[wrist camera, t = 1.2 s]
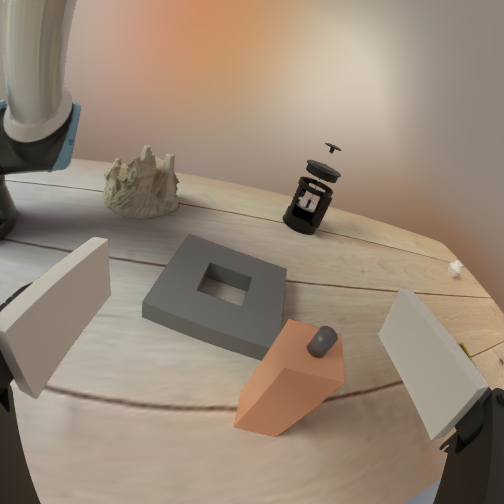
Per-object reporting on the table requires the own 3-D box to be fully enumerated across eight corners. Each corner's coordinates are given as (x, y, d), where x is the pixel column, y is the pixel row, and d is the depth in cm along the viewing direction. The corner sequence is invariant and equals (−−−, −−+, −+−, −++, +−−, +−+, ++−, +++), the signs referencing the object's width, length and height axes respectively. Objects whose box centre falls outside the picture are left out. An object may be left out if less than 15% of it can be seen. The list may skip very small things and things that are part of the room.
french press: (276, 211, 74) (307, 133, 62) (303, 216, 78) (335, 143, 66) (294, 236, 65) (334, 149, 53) (324, 240, 70) (363, 160, 57)
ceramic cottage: (187, 211, 59) (198, 145, 51) (119, 227, 48) (122, 151, 40) (154, 185, 67) (161, 130, 59) (96, 196, 55) (98, 134, 47)
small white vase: (448, 270, 89) (458, 257, 85) (457, 280, 84) (467, 266, 80) (442, 269, 86) (452, 255, 82) (451, 280, 82) (462, 265, 78)
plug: (233, 426, 25) (296, 352, 17) (241, 391, 30) (298, 302, 21) (275, 436, 25) (359, 368, 17) (280, 401, 30) (352, 319, 21)
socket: (142, 316, 34) (142, 301, 32) (186, 247, 49) (189, 234, 47) (270, 362, 34) (278, 350, 33) (280, 281, 49) (286, 269, 48)
